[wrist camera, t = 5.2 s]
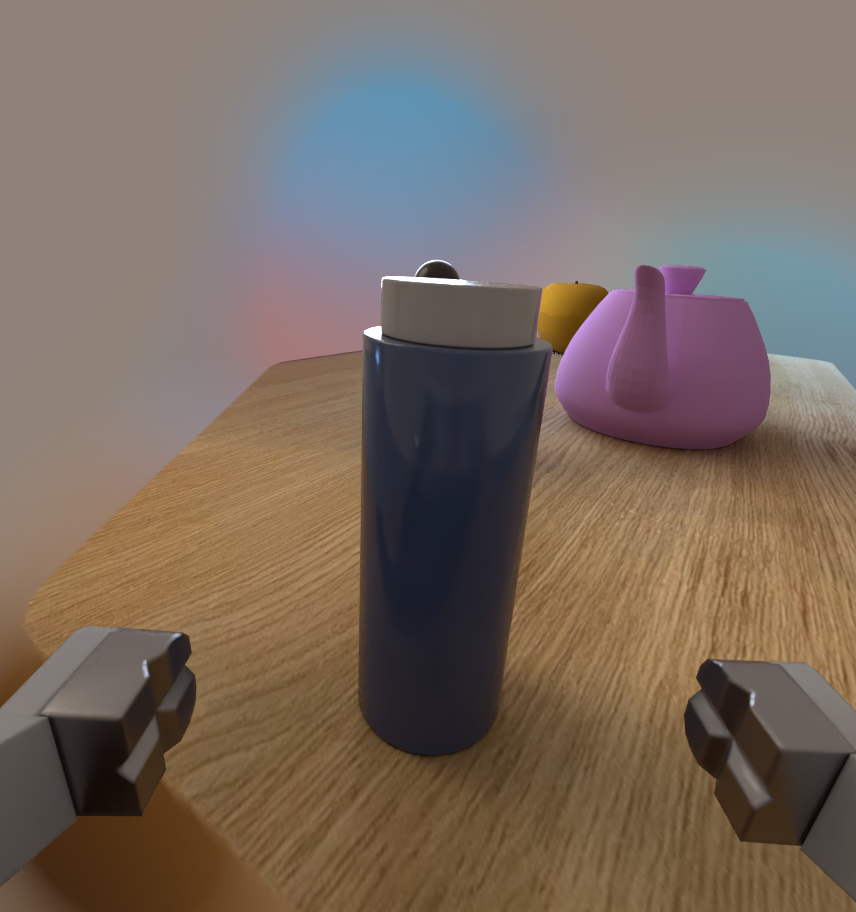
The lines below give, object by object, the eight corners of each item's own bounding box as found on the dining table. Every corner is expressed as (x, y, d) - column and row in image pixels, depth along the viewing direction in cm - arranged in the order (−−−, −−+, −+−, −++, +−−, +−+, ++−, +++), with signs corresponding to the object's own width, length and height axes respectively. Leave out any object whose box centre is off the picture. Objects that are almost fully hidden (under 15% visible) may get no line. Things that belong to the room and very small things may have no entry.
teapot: (588, 385, 60) (610, 264, 55) (759, 416, 51) (803, 274, 46) (497, 435, 40) (519, 252, 35) (751, 498, 31) (828, 266, 26)
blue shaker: (328, 694, 15) (322, 273, 11) (421, 624, 18) (445, 277, 14) (440, 789, 13) (489, 289, 8) (525, 689, 16) (593, 290, 12)
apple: (516, 349, 84) (525, 277, 79) (547, 343, 93) (557, 278, 89) (591, 361, 77) (604, 283, 72) (616, 353, 86) (630, 284, 82)
